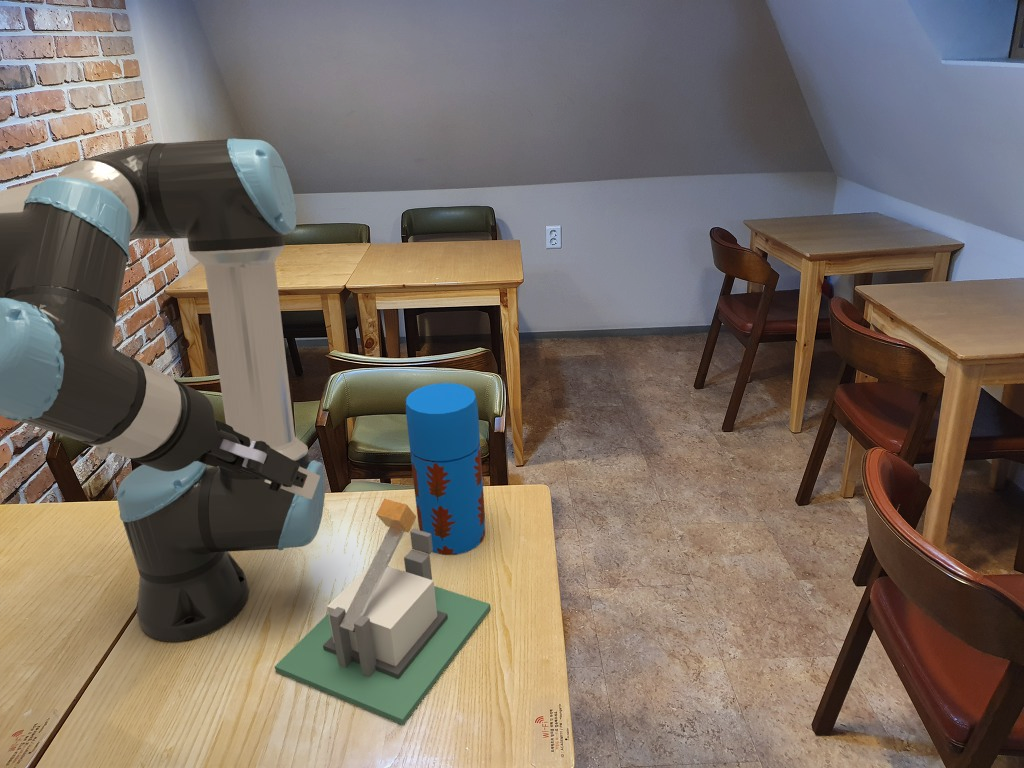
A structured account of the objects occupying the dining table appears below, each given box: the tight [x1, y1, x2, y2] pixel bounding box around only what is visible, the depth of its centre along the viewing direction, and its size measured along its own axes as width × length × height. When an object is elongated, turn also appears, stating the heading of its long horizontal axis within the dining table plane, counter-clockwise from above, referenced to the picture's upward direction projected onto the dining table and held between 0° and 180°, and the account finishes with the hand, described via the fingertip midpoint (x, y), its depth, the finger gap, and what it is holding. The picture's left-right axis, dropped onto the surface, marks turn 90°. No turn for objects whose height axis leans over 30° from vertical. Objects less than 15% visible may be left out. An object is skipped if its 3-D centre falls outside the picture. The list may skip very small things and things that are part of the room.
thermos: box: [405, 382, 486, 556], centre depth 121 cm, size 11×11×25 cm
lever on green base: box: [274, 528, 492, 726], centre depth 103 cm, size 20×22×11 cm
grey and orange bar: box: [340, 498, 417, 633], centre depth 99 cm, size 4×16×4 cm
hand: (310, 486), depth 85 cm, fingers closed
